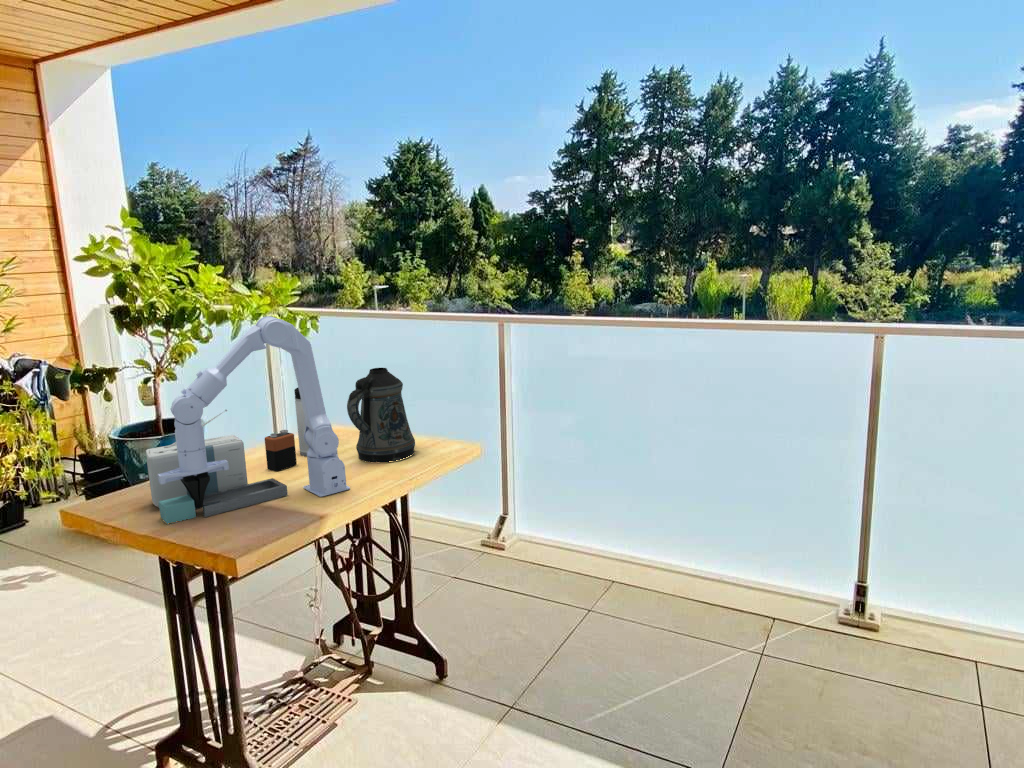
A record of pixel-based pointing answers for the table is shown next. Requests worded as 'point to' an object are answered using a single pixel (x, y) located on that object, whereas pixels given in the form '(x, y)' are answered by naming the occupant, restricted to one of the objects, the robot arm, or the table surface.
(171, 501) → the block
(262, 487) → the chute
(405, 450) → the beer stein
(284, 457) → the battery
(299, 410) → the travel mug
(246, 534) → the table surface
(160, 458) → the stereo radio cassette player
